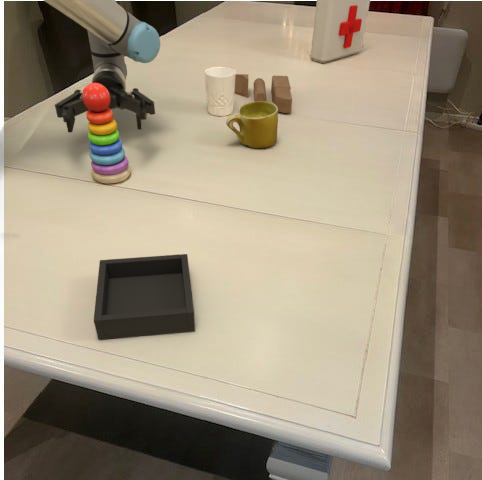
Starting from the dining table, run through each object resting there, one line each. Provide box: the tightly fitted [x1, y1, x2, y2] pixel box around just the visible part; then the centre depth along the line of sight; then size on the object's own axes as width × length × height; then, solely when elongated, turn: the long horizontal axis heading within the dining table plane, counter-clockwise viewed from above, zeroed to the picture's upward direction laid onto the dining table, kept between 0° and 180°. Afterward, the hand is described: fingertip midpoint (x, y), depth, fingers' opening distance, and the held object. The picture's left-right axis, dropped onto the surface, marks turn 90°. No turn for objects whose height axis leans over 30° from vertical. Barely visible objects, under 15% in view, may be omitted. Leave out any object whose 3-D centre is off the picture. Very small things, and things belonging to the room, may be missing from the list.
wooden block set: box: [235, 73, 293, 114], centre depth 132 cm, size 17×6×18 cm
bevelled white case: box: [310, 0, 371, 64], centre depth 160 cm, size 21×8×20 cm, turn 132°
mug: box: [225, 100, 279, 149], centre depth 113 cm, size 12×10×10 cm
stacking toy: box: [81, 82, 131, 184], centre depth 95 cm, size 8×8×19 cm
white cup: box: [204, 66, 237, 117], centre depth 125 cm, size 8×8×10 cm
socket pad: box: [93, 253, 196, 341], centre depth 72 cm, size 14×14×4 cm
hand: (104, 124), depth 96 cm, fingers open, 13 cm apart
